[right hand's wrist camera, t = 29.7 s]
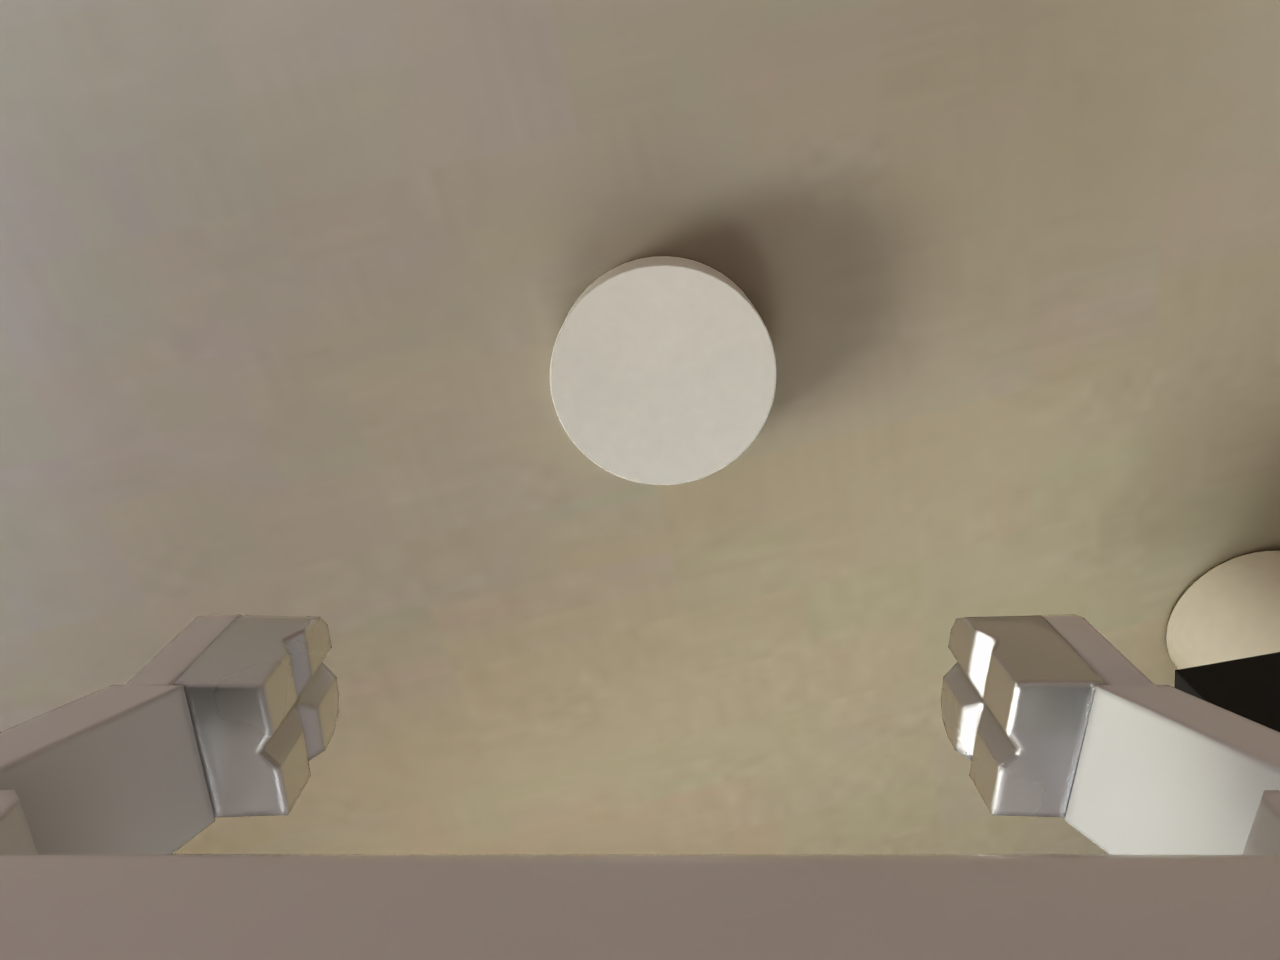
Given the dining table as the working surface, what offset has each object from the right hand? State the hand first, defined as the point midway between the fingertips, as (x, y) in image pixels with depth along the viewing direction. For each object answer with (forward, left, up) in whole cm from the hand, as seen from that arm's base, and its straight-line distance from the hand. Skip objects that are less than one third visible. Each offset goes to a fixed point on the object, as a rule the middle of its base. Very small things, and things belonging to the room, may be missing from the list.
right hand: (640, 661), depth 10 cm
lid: (+1, -1, -10) cm, 10 cm away
